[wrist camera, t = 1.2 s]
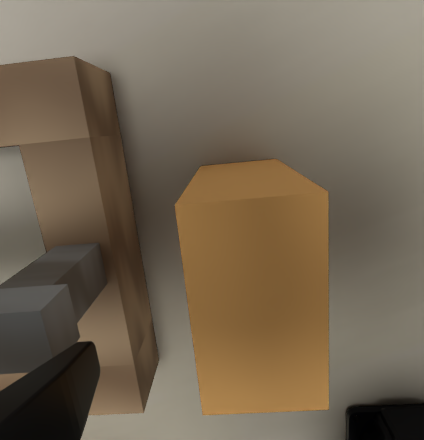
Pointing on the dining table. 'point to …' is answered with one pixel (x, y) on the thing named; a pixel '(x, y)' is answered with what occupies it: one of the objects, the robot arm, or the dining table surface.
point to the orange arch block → (257, 287)
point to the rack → (76, 234)
